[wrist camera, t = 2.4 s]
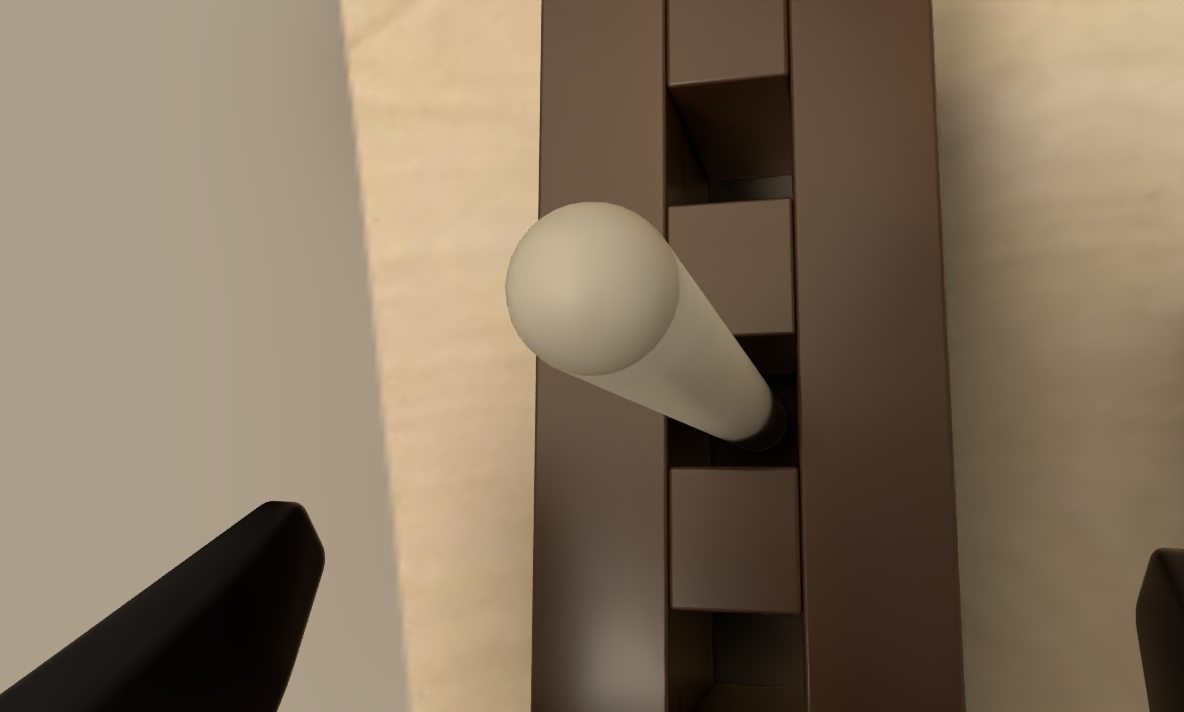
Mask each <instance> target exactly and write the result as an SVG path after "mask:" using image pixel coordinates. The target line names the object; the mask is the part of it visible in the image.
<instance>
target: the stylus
mask: <svg viewBox="0 0 1184 712" xmlns="http://www.w3.org/2000/svg"><path fill="white" fill-rule="evenodd" d="M505 287H506V301H507V306H508V310H509V313H510V317H511V321H512V323H513V325H514V327H515V329H516V331H517V333H518V335H519V337H520V338H521V339H522V341H523V342H524V343H525V344H526V346H527V347H528V348H529V349H530V350H531V351H532V352H533V353H535V354H536V355H537V356H538V357H539V358H540V359H541V360H543V361H544V362H545V363H547V364H549V365H550V366H552V367H554V368H556V369H558V370H560V371H563V372H565V373H567V374H570V375H572V376H575V377H577V378H579V379H582V380H584V381H586V382H589V383H591V384H593V385H596V386H598V387H600V388H603V389H605V390H608V391H610V392H612V393H615V394H617V395H619V396H622V397H624V398H626V399H629V400H631V401H633V402H636V403H638V404H641V405H643V406H645V407H648V408H650V409H652V410H655V411H657V412H659V413H662V414H664V415H666V416H669V417H671V418H673V419H676V420H678V421H681V422H683V423H685V424H688V425H690V426H692V427H695V428H697V429H699V430H702V431H704V432H706V433H709V434H711V435H714V436H716V437H718V438H721V439H723V440H725V441H728V442H730V443H732V444H735V445H737V446H739V447H742V448H744V449H747V450H751V451H763V450H766V449H769V448H771V447H773V446H774V445H776V444H777V443H778V442H779V441H780V440H781V438H782V437H783V435H784V433H785V430H786V426H787V416H786V412H785V410H784V408H783V406H782V404H781V403H780V401H779V400H778V399H777V397H776V396H775V394H774V393H773V392H772V390H771V389H770V387H769V386H768V384H767V383H766V382H765V380H764V379H763V377H762V376H761V375H760V373H759V372H758V370H757V369H756V367H755V366H754V365H753V363H752V362H751V360H750V359H749V358H748V356H747V355H746V353H745V352H744V351H743V349H742V348H741V346H740V345H739V343H738V342H737V341H736V339H735V338H734V336H733V335H732V334H731V332H730V331H729V329H728V328H727V326H726V325H725V324H724V322H723V321H722V319H721V318H720V317H719V315H718V314H717V312H716V311H715V310H714V308H713V307H712V305H711V304H710V302H709V301H708V300H707V298H706V297H705V295H704V294H703V293H702V291H701V290H700V288H699V287H698V285H697V284H696V283H695V281H694V280H693V278H692V277H691V276H690V274H689V273H688V271H687V270H686V269H685V267H684V266H683V264H682V263H681V261H680V260H679V259H678V257H677V256H676V254H675V253H674V252H673V250H672V249H671V247H670V246H669V244H668V243H667V242H666V240H665V239H664V237H663V236H662V235H661V233H660V232H659V231H658V230H657V229H656V228H655V227H654V226H653V225H652V224H650V223H649V222H648V221H647V220H645V219H644V218H642V217H641V216H640V215H638V214H637V213H635V212H633V211H631V210H629V209H627V208H625V207H622V206H619V205H615V204H611V203H606V202H581V203H575V204H569V205H567V206H564V207H561V208H559V209H556V210H554V211H552V212H551V213H549V214H547V215H546V216H544V217H542V218H541V219H540V220H539V221H537V222H536V223H535V224H534V225H533V226H532V227H531V228H530V229H529V230H528V231H527V232H526V234H525V235H524V236H523V237H522V239H521V240H520V241H519V243H518V245H517V247H516V249H515V251H514V253H513V255H512V257H511V260H510V263H509V267H508V270H507V277H506V286H505Z"/></svg>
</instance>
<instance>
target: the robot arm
mask: <svg viewBox="0 0 1184 712" xmlns="http://www.w3.org/2000/svg"><path fill="white" fill-rule="evenodd" d="M324 564H325V553H324V548H323V545H322V543H321V541H320V539H319V537H318V534H317V532H316V530H315V528H314V526H313V524H312V522H311V520H310V518H309V516H308V513H307V512H306V510H305V508H304V507H303V506H302V505H300V504H299V503H296V502H282V501H270V502H266V503H264V504H262V505H261V506H259V507H258V508H256V509H255V510H254V511H252V512H251V513H249V514H248V515H247V516H245V517H244V518H242V519H241V520H240V521H238V522H237V523H236V524H234V525H233V526H231V528H229V529H227V530H226V531H225V532H223V533H222V534H220V535H219V536H218V537H216V538H215V539H214V540H213V541H211V542H210V543H208V544H207V545H205V546H204V547H203V548H201V549H200V550H198V551H197V552H196V553H194V554H193V555H192V556H190V557H189V558H188V559H186V560H185V561H183V562H182V563H181V564H179V565H178V566H176V567H175V568H174V569H172V570H171V571H170V572H168V573H167V574H165V575H164V576H163V577H161V578H160V579H159V580H157V581H156V582H154V583H153V584H152V585H150V586H149V587H148V588H146V589H145V590H144V591H142V592H141V593H139V594H138V595H137V596H135V597H134V598H132V599H131V600H130V601H128V602H127V603H126V604H124V605H123V606H121V607H120V608H119V609H117V610H116V611H114V612H113V613H112V614H111V615H109V616H108V617H106V618H105V619H104V620H102V621H101V622H99V623H98V624H97V625H95V626H94V627H92V628H91V629H90V630H88V631H87V632H86V633H84V634H83V635H81V636H80V637H79V638H77V639H76V640H75V641H73V642H72V643H70V644H69V645H68V646H66V647H65V648H64V649H62V650H61V651H59V652H58V653H57V654H55V655H54V656H53V657H51V658H50V659H48V660H47V661H46V662H44V663H43V664H42V665H40V666H39V667H37V668H36V669H35V670H33V671H32V672H31V673H29V674H28V675H27V676H25V677H24V678H22V679H21V680H19V681H18V682H17V683H15V684H14V685H13V686H11V687H10V688H8V689H7V690H6V691H4V692H3V693H1V694H0V712H277V710H278V708H279V705H280V703H281V700H282V698H283V695H284V693H285V690H286V687H287V685H288V682H289V679H290V676H291V673H292V670H293V667H294V664H295V661H296V658H297V655H298V651H299V648H300V645H301V641H302V638H303V635H304V632H305V628H306V625H307V622H308V619H309V615H310V612H311V609H312V606H313V602H314V599H315V596H316V592H317V589H318V586H319V582H320V579H321V576H322V573H323V569H324ZM1136 628H1137V634H1138V640H1139V647H1140V653H1141V659H1142V665H1143V672H1144V678H1145V684H1146V690H1147V696H1148V703H1149V709H1150V712H1184V549H1175V548H1159V549H1157V550H1155V551H1154V552H1153V553H1152V555H1151V557H1150V560H1149V563H1148V566H1147V570H1146V573H1145V576H1144V580H1143V583H1142V587H1141V590H1140V593H1139V597H1138V600H1137V604H1136Z"/></svg>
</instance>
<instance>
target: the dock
mask: <svg viewBox="0 0 1184 712" xmlns="http://www.w3.org/2000/svg"><path fill="white" fill-rule="evenodd" d="M786 175H792V191H793V200H792V198H790V197H786V198H771V199H757V200H743V201H729V202H715V203H707V179H708V180H709V181H721V180H734V179H747V178H760V177H773V176H786ZM581 202H606V203H611V204H615V205H619V206H622V207H625V208H627V209H629V210H631V211H633V212H635V213H637V214H638V215H640V216H641V217H642V218H644V219H645V220H647V221H648V222H649V223H650V224H652V225H653V226H654V227H655V228H656V229H657V230H658V231H659V232H660V233H661V235H662V236H663V237H664V239H665V240H666V242H667V243H668V244H669V246H670V247H671V249H672V250H673V252H674V253H675V254H676V256H677V257H678V259H679V260H680V261H681V263H682V264H683V266H684V267H685V269H686V270H687V271H688V273H689V274H690V276H691V277H692V278H693V280H694V281H695V283H696V284H697V285H698V287H699V288H700V290H701V291H702V293H703V294H704V295H705V297H706V298H707V300H708V301H709V302H710V304H711V305H712V307H713V308H714V310H715V311H716V312H717V314H718V315H719V317H720V318H721V319H722V321H723V322H724V324H725V325H726V326H727V328H728V329H729V331H730V332H731V334H732V335H733V336H734V338H735V339H736V341H737V342H738V343H739V345H740V346H741V348H742V349H743V351H744V352H745V353H746V355H747V356H748V358H749V359H750V360H751V362H752V363H753V365H754V366H755V367H756V369H757V370H758V372H759V373H760V374H793V373H797V398H798V439H799V468H797V467H795V466H710V434H709V433H706V432H704V431H702V430H699V429H697V428H695V427H692V426H690V425H688V424H685V423H683V422H681V421H678V420H676V419H673V418H671V417H669V416H666V415H664V414H662V413H659V412H657V411H655V410H652V409H650V408H648V407H645V406H643V405H641V404H638V403H636V402H633V401H631V400H629V399H626V398H624V397H622V396H619V395H617V394H615V393H612V392H610V391H608V390H605V389H603V388H600V387H598V386H596V385H593V384H591V383H589V382H586V381H584V380H582V379H579V378H577V377H575V376H572V375H570V374H567V373H565V372H563V371H560V370H558V369H556V368H554V367H552V366H550V365H549V364H547V363H545V362H544V361H543V360H541V359H540V358H539V357H538V356H537V355H536V402H535V468H534V534H533V601H532V667H531V712H966V705H965V684H964V663H963V642H962V621H961V599H960V578H959V557H958V536H957V515H956V493H955V472H954V451H953V430H952V409H951V387H950V366H949V345H948V324H947V303H946V281H945V260H944V239H943V218H942V197H941V176H940V154H939V133H938V112H937V91H936V70H935V48H934V27H933V6H932V0H542V5H541V71H540V138H539V204H538V221H539V220H540V219H541V218H542V217H544V216H546V215H547V214H549V213H551V212H552V211H554V210H556V209H559V208H561V207H564V206H567V205H569V204H575V203H581ZM802 610H803V646H804V687H805V689H796V688H780V687H763V686H746V685H729V684H714V685H713V676H712V612H721V613H746V614H771V615H796V616H797V615H800V614H801V613H802Z"/></svg>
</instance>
